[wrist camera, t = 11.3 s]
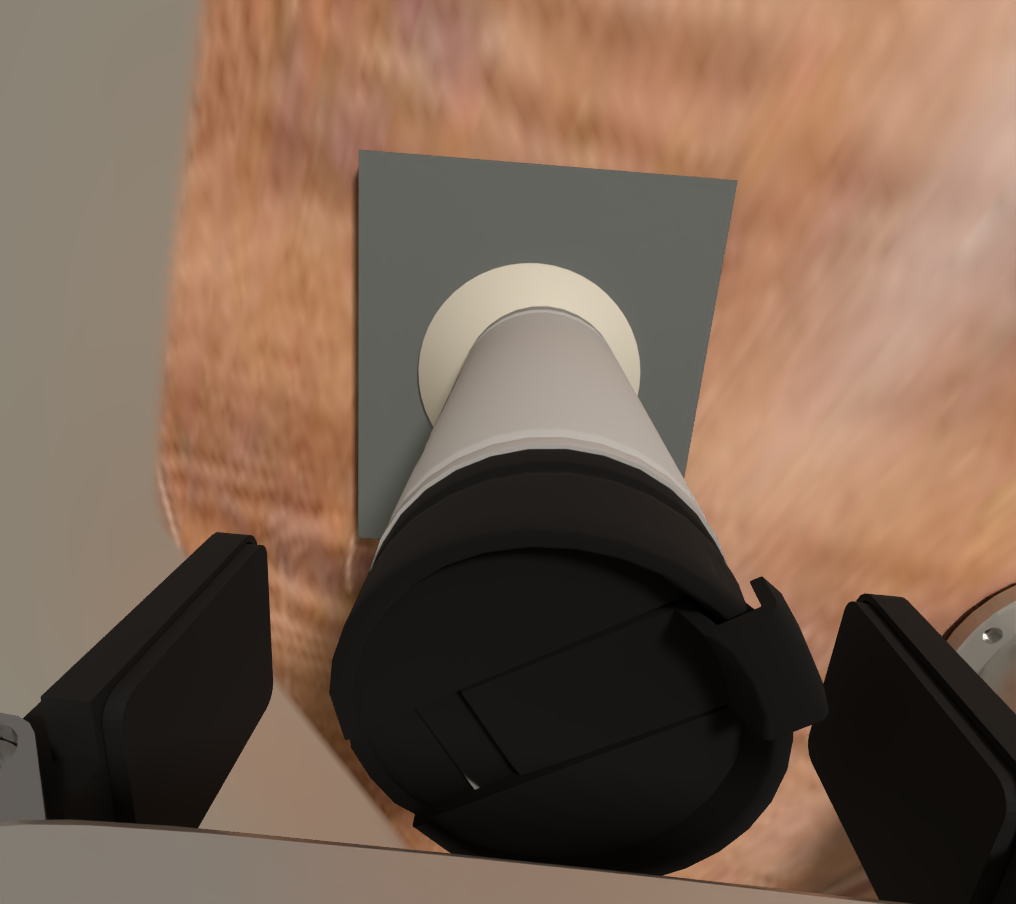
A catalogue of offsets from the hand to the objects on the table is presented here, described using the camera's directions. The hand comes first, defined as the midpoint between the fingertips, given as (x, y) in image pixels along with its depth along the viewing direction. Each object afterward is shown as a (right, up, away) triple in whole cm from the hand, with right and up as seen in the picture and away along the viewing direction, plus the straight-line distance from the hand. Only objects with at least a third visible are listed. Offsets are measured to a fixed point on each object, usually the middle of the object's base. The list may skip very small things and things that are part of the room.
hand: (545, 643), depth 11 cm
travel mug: (+1, +6, +17) cm, 18 cm away
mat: (0, +7, +18) cm, 19 cm away
